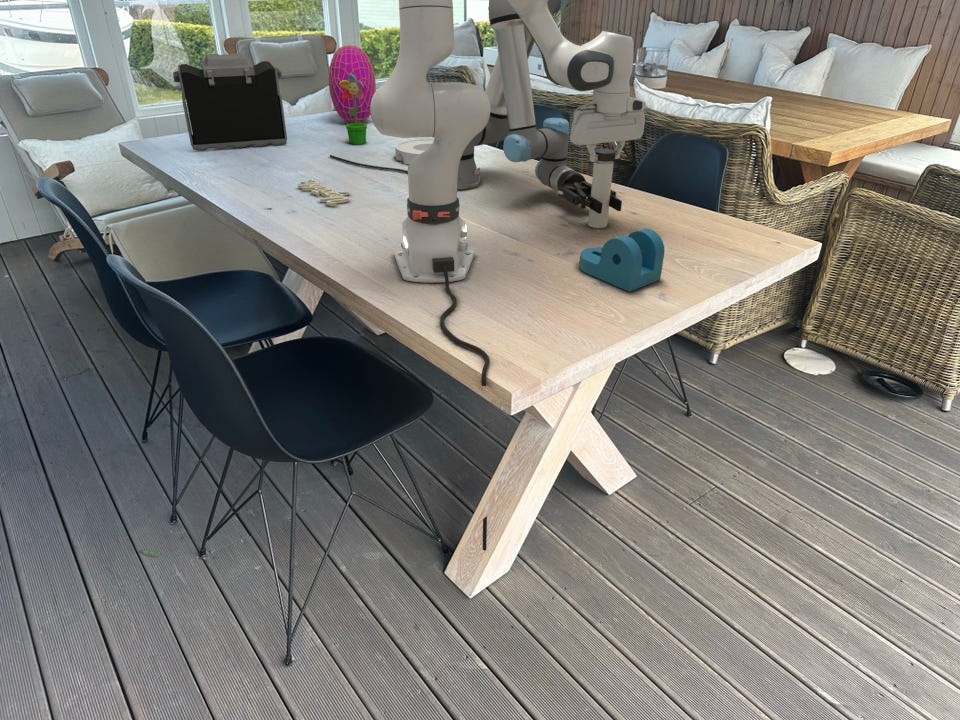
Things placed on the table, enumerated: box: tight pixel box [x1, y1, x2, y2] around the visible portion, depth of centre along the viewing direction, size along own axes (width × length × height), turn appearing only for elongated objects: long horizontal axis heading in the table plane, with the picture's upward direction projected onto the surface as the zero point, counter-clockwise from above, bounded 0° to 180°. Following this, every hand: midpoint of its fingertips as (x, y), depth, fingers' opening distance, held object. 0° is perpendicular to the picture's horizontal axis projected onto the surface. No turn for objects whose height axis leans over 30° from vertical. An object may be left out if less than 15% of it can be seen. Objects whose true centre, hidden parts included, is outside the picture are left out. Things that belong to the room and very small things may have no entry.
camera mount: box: [578, 228, 665, 292], centre depth 154 cm, size 18×10×10 cm, turn 39°
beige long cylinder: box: [587, 160, 614, 229], centre depth 180 cm, size 5×5×19 cm
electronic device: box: [172, 52, 288, 152], centre depth 253 cm, size 37×22×30 cm, turn 111°
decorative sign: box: [297, 178, 350, 207], centre depth 206 cm, size 26×1×10 cm
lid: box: [594, 148, 616, 162], centre depth 175 cm, size 6×6×2 cm
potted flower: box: [339, 73, 368, 145], centre depth 255 cm, size 9×8×25 cm
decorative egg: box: [328, 44, 377, 124], centre depth 286 cm, size 19×19×30 cm
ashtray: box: [394, 138, 434, 166], centre depth 243 cm, size 23×23×4 cm
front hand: (604, 159), depth 176 cm, fingers closed on lid, 5 cm apart
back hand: (610, 207), depth 177 cm, fingers closed on beige long cylinder, 5 cm apart
